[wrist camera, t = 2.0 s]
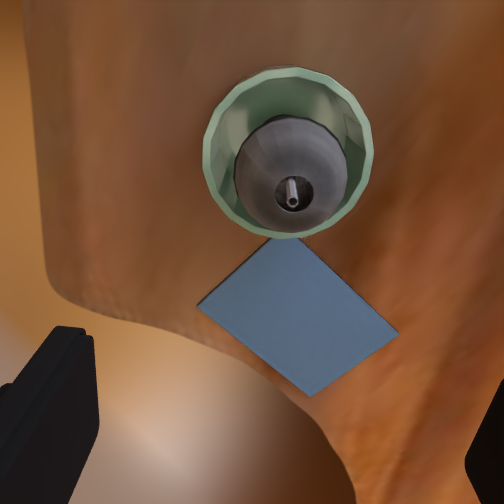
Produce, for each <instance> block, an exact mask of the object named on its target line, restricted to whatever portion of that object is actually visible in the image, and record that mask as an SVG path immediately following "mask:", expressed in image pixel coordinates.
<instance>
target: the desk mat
mask: <svg viewBox="0 0 504 504" xmlns="http://www.w3.org/2000/svg"><path fill="white" fill-rule="evenodd" d="M197 308H199V309H200V310H201V311H202V312H204V313H205V314H206V315H207V316H209V317H210V318H211V319H212V320H214V321H215V322H216V323H218V324H219V325H220V326H221V327H223V328H224V329H225V330H226V331H228V332H229V333H230V334H231V335H233V336H234V337H235V338H236V339H238V340H239V341H240V342H241V343H243V344H244V345H245V346H246V347H248V348H249V349H250V350H251V351H253V352H254V353H255V354H256V355H258V356H259V357H260V358H261V359H263V360H264V361H265V362H267V363H268V364H269V365H270V366H272V367H273V368H274V369H275V370H277V371H278V372H279V373H280V374H282V375H283V376H284V377H285V378H287V379H288V380H289V381H290V382H292V383H293V384H294V385H295V386H297V387H298V388H299V389H300V390H302V391H303V392H304V393H305V394H307V395H308V396H309V397H312V396H313V395H315V394H316V393H318V392H319V391H321V390H322V389H323V388H325V387H326V386H328V385H329V384H330V383H332V382H333V381H335V380H336V379H338V378H339V377H340V376H342V375H343V374H345V373H346V372H347V371H349V370H350V369H352V368H353V367H355V366H356V365H357V364H359V363H360V362H362V361H363V360H364V359H366V358H367V357H369V356H370V355H372V354H373V353H374V352H376V351H377V350H379V349H380V348H381V347H383V346H384V345H386V344H387V343H389V342H390V341H391V340H393V339H394V338H396V337H397V336H398V335H399V334H398V332H397V331H396V330H395V329H394V328H393V327H392V326H391V325H390V324H389V323H388V322H386V321H385V320H384V319H383V318H382V317H381V316H380V315H379V314H378V313H377V312H376V311H375V310H374V309H373V308H372V307H371V306H370V305H368V304H367V303H366V302H365V301H364V300H363V299H362V298H361V297H360V296H359V295H358V294H357V293H356V292H355V291H354V290H353V289H352V288H351V287H349V286H348V285H347V284H346V283H345V282H344V281H343V280H342V279H341V278H340V277H339V276H338V275H337V274H336V273H335V272H334V271H333V270H331V269H330V268H329V267H328V266H327V265H326V264H325V263H324V262H323V261H322V260H321V259H320V258H319V257H318V256H317V255H316V254H315V253H314V252H312V251H311V250H310V249H309V248H308V247H307V246H306V245H305V244H304V243H303V242H302V241H301V240H300V239H299V238H288V239H275V238H270V239H269V240H268V241H267V242H265V243H264V244H263V245H262V246H261V247H260V248H259V249H258V250H257V251H256V252H254V253H253V254H252V255H251V256H250V257H249V258H248V259H247V260H246V261H245V262H243V263H242V264H241V265H240V266H239V267H238V268H237V269H236V270H235V271H234V272H233V273H231V274H230V275H229V276H228V277H227V278H226V279H225V280H224V281H223V282H222V283H220V284H219V285H218V286H217V287H216V288H215V289H214V290H213V291H212V292H211V293H209V294H208V295H207V296H206V297H205V298H204V299H203V300H202V301H201V302H200V303H198V304H197Z"/></svg>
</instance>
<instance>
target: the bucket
mask: <svg viewBox="0 0 504 504" xmlns="http://www.w3.org/2000/svg"><path fill="white" fill-rule="evenodd" d="M281 114H286V115H293V116H298V117H307V118H310V119H312V120H314V121H316V122H319V123H321V124H323V125H325V126H326V127H327V128H328V129H329V130H330V131H331V132H332V133H333V134H334V135H335V136H336V137H337V138H338V139H339V141H340V143H341V145H342V148H343V150H344V152H345V154H346V159H347V167H348V178H347V184H346V188H345V193H344V197H343V199H342V200H341V202H340V204H339V206H338V208H337V209H336V211H335V212H334V213H333V214H332V215H331V216H330V217H329V218H328V219H327V220H326V221H324V222H323V223H322V224H320V225H318V226H316V227H314V228H312V229H310V230H308V231H303V232H297V233H285V232H277V231H274V230H272V229H270V228H267V227H265V226H263V225H261V224H260V223H258V222H257V221H256V220H255V219H254V218H253V217H251V216H250V215H249V214H248V212H247V210H246V209H245V207H244V206H243V204H242V202H241V201H240V199H239V197H238V195H237V192H236V188H235V184H234V180H233V173H234V161H235V158H236V156H237V153H238V151H239V149H240V146H241V144H242V143H243V141H244V140H245V139H246V138H247V137H248V136H249V135H250V133H251V132H252V131H253V130H254V129H256V128H257V127H259V126H261V125H262V124H263V123H264V122H265V121H266V120H268V119H270V118H271V117H273V116H276V115H281ZM373 157H374V147H373V141H372V135H371V128H370V123H369V121H368V119H367V117H366V115H365V114H364V112H363V110H362V108H361V107H360V105H359V103H358V102H357V100H356V98H355V96H354V95H353V94H352V93H350V92H349V91H348V90H346V89H345V88H344V87H343V86H341V85H340V84H339V83H337V82H336V81H335V80H334V79H332V78H331V77H330V76H328V75H325V74H322V73H319V72H317V71H313V70H310V69H306V68H303V67H299V66H296V65H292V64H287V65H278V66H269V67H263V68H262V69H260V70H258V71H256V72H254V73H252V74H250V75H248V76H246V77H244V78H242V79H241V80H240V81H239V82H238V83H237V84H236V85H235V87H234V88H233V89H232V90H231V91H230V92H229V93H228V94H227V96H226V97H225V98H224V99H223V100H222V101H221V102H220V104H219V105H218V106H217V107H216V108H215V110H214V111H213V114H212V117H211V119H210V122H209V124H208V127H207V129H206V132H205V134H204V137H203V151H202V170H203V173H204V176H205V179H206V182H207V185H208V188H209V191H210V194H211V196H212V198H213V199H214V200H215V202H216V203H217V204H218V205H219V207H220V208H221V209H222V210H223V212H224V213H225V214H226V216H227V217H228V218H229V219H231V220H232V221H234V222H235V223H237V224H239V225H240V226H242V227H243V228H245V229H246V230H248V231H249V232H251V233H254V234H258V235H263V236H267V237H271V238H275V239H288V238H301V237H307V236H310V235H312V234H314V233H317V232H319V231H321V230H324V229H326V228H329V227H331V226H333V225H334V224H335V223H336V222H337V221H338V220H340V219H341V218H342V217H343V216H344V215H345V214H346V213H348V212H349V211H350V210H351V209H352V208H353V207H354V206H355V204H356V202H357V201H358V199H359V197H360V196H361V194H362V192H363V190H364V189H365V187H366V185H367V184H368V181H369V176H370V171H371V167H372V162H373Z"/></svg>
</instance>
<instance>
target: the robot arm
mask: <svg viewBox="0 0 504 504" xmlns="http://www.w3.org/2000/svg"><path fill="white" fill-rule="evenodd" d="M98 430H99V408H98V394H97V382H96V368H95V353H94V340H93V337H92V336H90V335H86V331H85V329H83V328H76V327H66V326H56V327H55V328H54V329H53V330H52V331H51V333H50V334H49V335H48V337H47V338H46V339H45V341H44V342H43V343H42V345H41V346H40V347H39V348H38V350H37V351H36V352H35V354H34V355H33V357H32V358H31V359H30V360H29V362H28V363H27V364H26V366H25V367H24V368H23V370H22V371H21V372H20V373H19V375H18V376H17V377H16V379H15V380H14V381H13V383H6V384H5V385H3V386H1V387H0V504H68V502H69V500H70V498H71V496H72V493H73V491H74V488H75V486H76V484H77V482H78V479H79V477H80V474H81V472H82V470H83V468H84V465H85V463H86V461H87V459H88V456H89V454H90V452H91V449H92V447H93V445H94V442H95V440H96V437H97V434H98ZM465 470H466V473H467V476H468V478H469V480H470V482H471V484H472V486H473V488H474V490H475V492H476V494H477V496H478V498H479V500H480V502H481V504H504V379H503V380H502V381H501V383H500V385H499V387H498V390H497V392H496V394H495V396H494V398H493V400H492V402H491V404H490V406H489V408H488V410H487V413H486V415H485V417H484V419H483V421H482V423H481V425H480V427H479V429H478V431H477V433H476V436H475V438H474V440H473V442H472V444H471V446H470V448H469V450H468V452H467V454H466V457H465Z"/></svg>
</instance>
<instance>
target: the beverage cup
mask: <svg viewBox="0 0 504 504" xmlns="http://www.w3.org/2000/svg"><path fill="white" fill-rule="evenodd" d="M347 178H348V167H347V159H346V154H345V152H344V150H343V148H342V145H341V143H340V141H339V139H338V138H337V137H336V136H335V135H334V134H333V133H332V132H331V131H330V130H329V129H328V128H327V127H326V126H325V125H323V124H321V123H319V122H316V121H314V120H312V119H310V118H307V117H298V116H293V115H286V114H281V115H276V116H273V117H271V118H270V119H268V120H266V121H265V122H264V123H263V124H262V125H261V126H259V127H257V128H256V129H254V130H253V131H252V132H251V133H250V135H249V136H248V137H247V138H246V139H245V140H244V141H243V143H242V144H241V146H240V149H239V151H238V153H237V156H236V158H235V161H234V173H233V180H234V184H235V188H236V192H237V195H238V197H239V199H240V201H241V202H242V204H243V206H244V207H245V209H246V210H247V212H248V214H249V215H250V216H251V217H253V218H254V219H255V220H256V221H257V222H258V223H260V224H261V225H263V226H265V227H267V228H270V229H272V230H274V231H277V232H285V233H297V232H303V231H308V230H310V229H312V228H314V227H316V226H318V225H320V224H322V223H323V222H324V221H326V220H327V219H328V218H329V217H330V216H331V215H332V214H333V213H334V212H335V211H336V209H337V208H338V206H339V204H340V202H341V200H342V199H343V197H344V193H345V188H346V184H347Z"/></svg>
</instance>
